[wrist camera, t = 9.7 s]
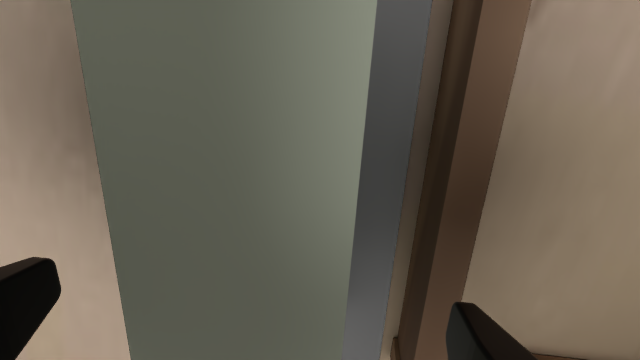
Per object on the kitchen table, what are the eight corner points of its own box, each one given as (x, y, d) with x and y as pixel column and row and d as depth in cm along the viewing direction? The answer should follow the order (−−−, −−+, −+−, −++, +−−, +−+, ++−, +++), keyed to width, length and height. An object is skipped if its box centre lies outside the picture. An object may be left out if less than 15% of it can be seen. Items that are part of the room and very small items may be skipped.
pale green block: (366, 22, 13) (377, -4, 5) (339, 304, 17) (321, 555, 9) (252, 16, 13) (66, -20, 5) (254, 294, 18) (160, 529, 9)
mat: (443, -90, 12) (446, -95, 12) (377, 359, 19) (378, 367, 18) (188, -99, 13) (182, -104, 12) (215, 340, 19) (211, 347, 19)
